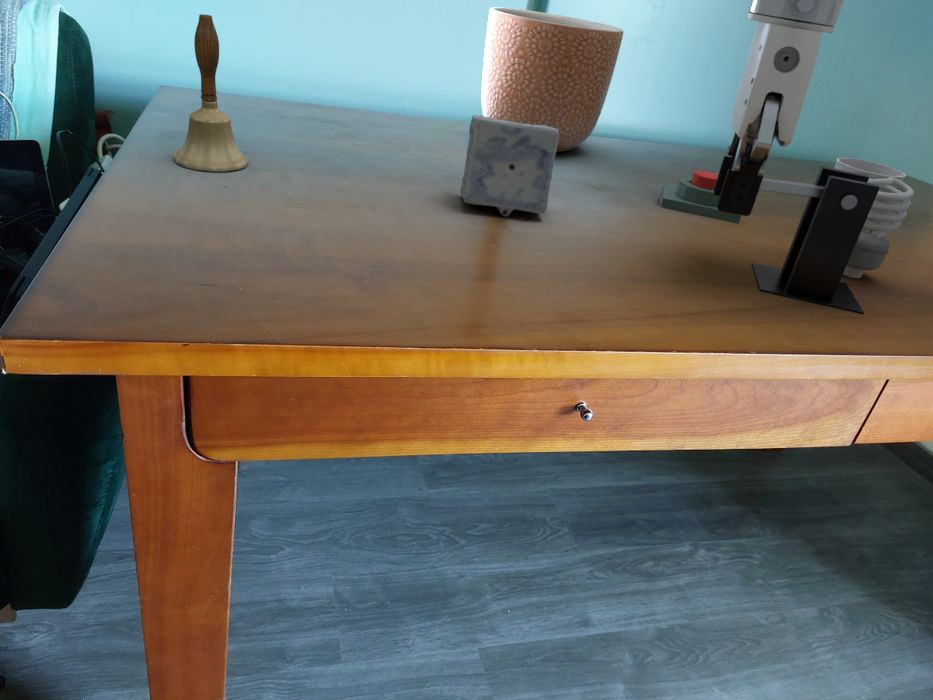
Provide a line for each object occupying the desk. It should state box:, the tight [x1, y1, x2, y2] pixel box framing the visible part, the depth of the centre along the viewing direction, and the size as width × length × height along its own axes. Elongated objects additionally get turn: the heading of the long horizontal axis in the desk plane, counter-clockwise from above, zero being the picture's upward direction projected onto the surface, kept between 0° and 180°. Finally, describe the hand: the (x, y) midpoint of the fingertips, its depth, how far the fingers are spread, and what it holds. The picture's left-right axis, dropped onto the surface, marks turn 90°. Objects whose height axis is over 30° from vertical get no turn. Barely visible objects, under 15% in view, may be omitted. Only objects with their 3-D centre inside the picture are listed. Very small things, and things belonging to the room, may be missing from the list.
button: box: [691, 170, 718, 190], centre depth 96 cm, size 4×4×2 cm
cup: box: [833, 157, 907, 234], centre depth 94 cm, size 8×8×10 cm
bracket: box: [751, 165, 880, 315], centre depth 73 cm, size 10×8×13 cm
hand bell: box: [173, 13, 249, 173], centre depth 83 cm, size 8×8×16 cm
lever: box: [726, 175, 825, 198], centre depth 72 cm, size 12×5×2 cm, turn 76°
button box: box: [658, 176, 742, 224], centre depth 97 cm, size 10×8×4 cm
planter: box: [481, 6, 624, 153], centre depth 116 cm, size 21×21×19 cm
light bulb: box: [842, 177, 915, 279], centre depth 80 cm, size 6×6×12 cm
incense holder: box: [459, 114, 559, 217], centre depth 85 cm, size 10×8×10 cm
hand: (730, 202), depth 74 cm, fingers closed on lever, 5 cm apart
